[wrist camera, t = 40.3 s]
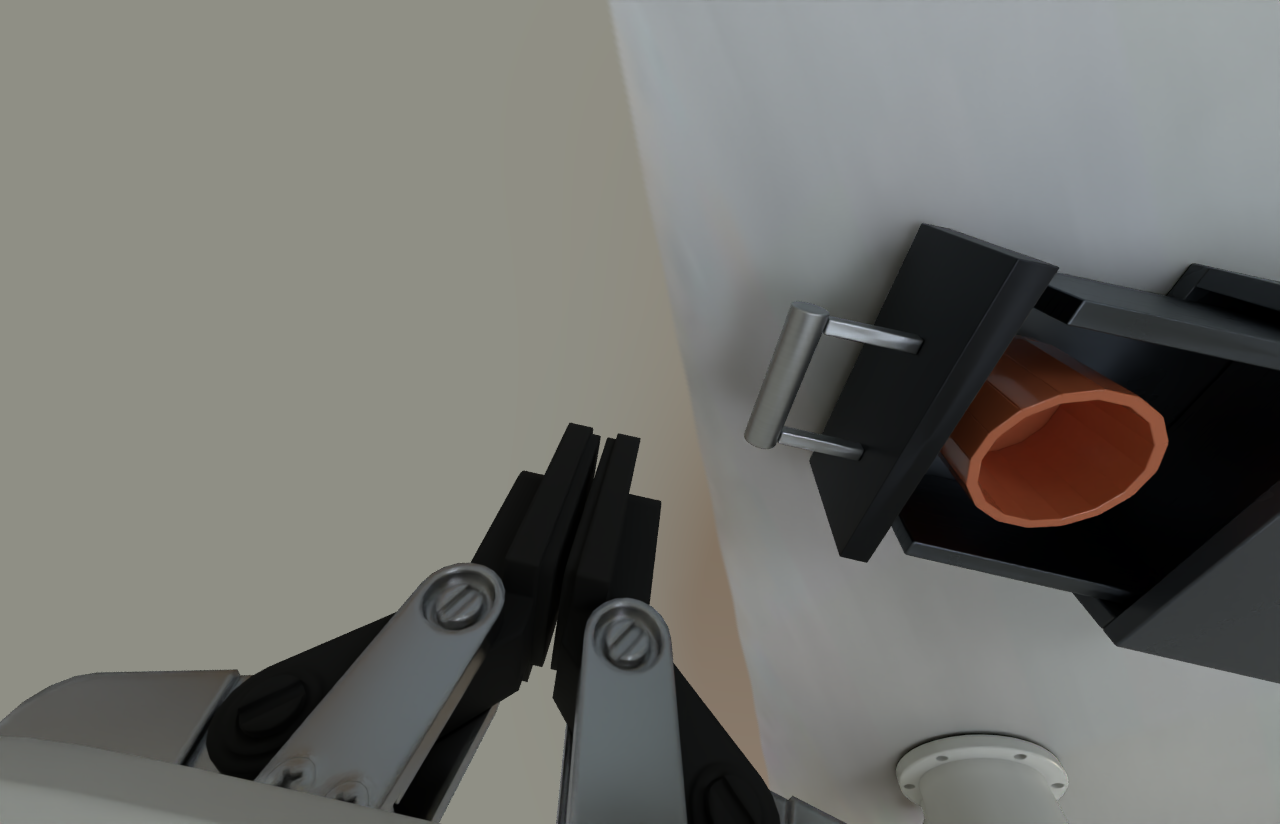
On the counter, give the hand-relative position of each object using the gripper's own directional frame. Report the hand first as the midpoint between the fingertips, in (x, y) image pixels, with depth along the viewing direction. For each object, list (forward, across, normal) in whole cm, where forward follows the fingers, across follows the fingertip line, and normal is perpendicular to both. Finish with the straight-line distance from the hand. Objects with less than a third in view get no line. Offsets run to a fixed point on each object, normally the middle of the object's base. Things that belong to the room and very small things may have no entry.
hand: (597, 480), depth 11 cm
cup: (+12, -16, 0) cm, 20 cm away
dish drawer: (+13, -15, 0) cm, 20 cm away
